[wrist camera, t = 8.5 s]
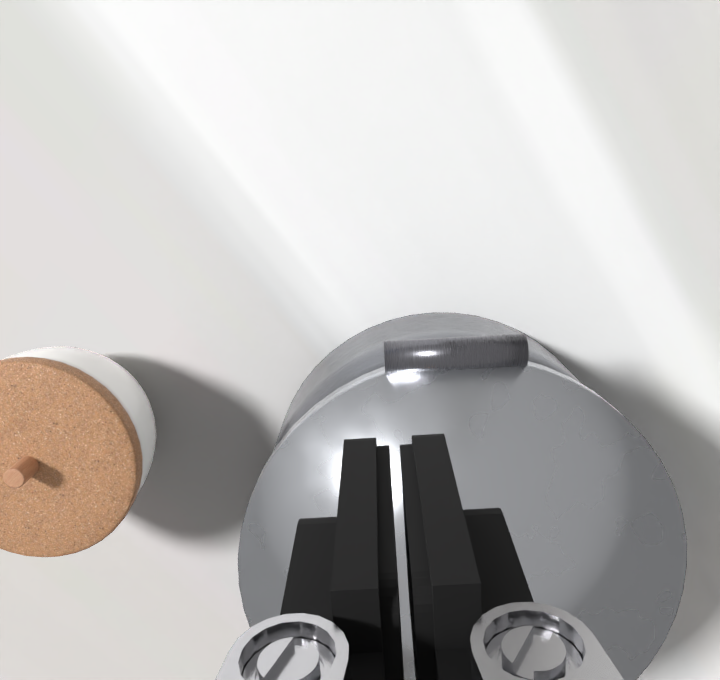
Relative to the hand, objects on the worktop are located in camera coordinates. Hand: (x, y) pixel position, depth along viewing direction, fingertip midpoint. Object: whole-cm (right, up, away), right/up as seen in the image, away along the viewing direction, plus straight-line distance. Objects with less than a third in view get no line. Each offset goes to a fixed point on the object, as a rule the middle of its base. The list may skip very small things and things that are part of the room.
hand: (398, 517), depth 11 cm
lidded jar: (-17, -1, +30) cm, 35 cm away
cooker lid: (+4, -10, +22) cm, 24 cm away
